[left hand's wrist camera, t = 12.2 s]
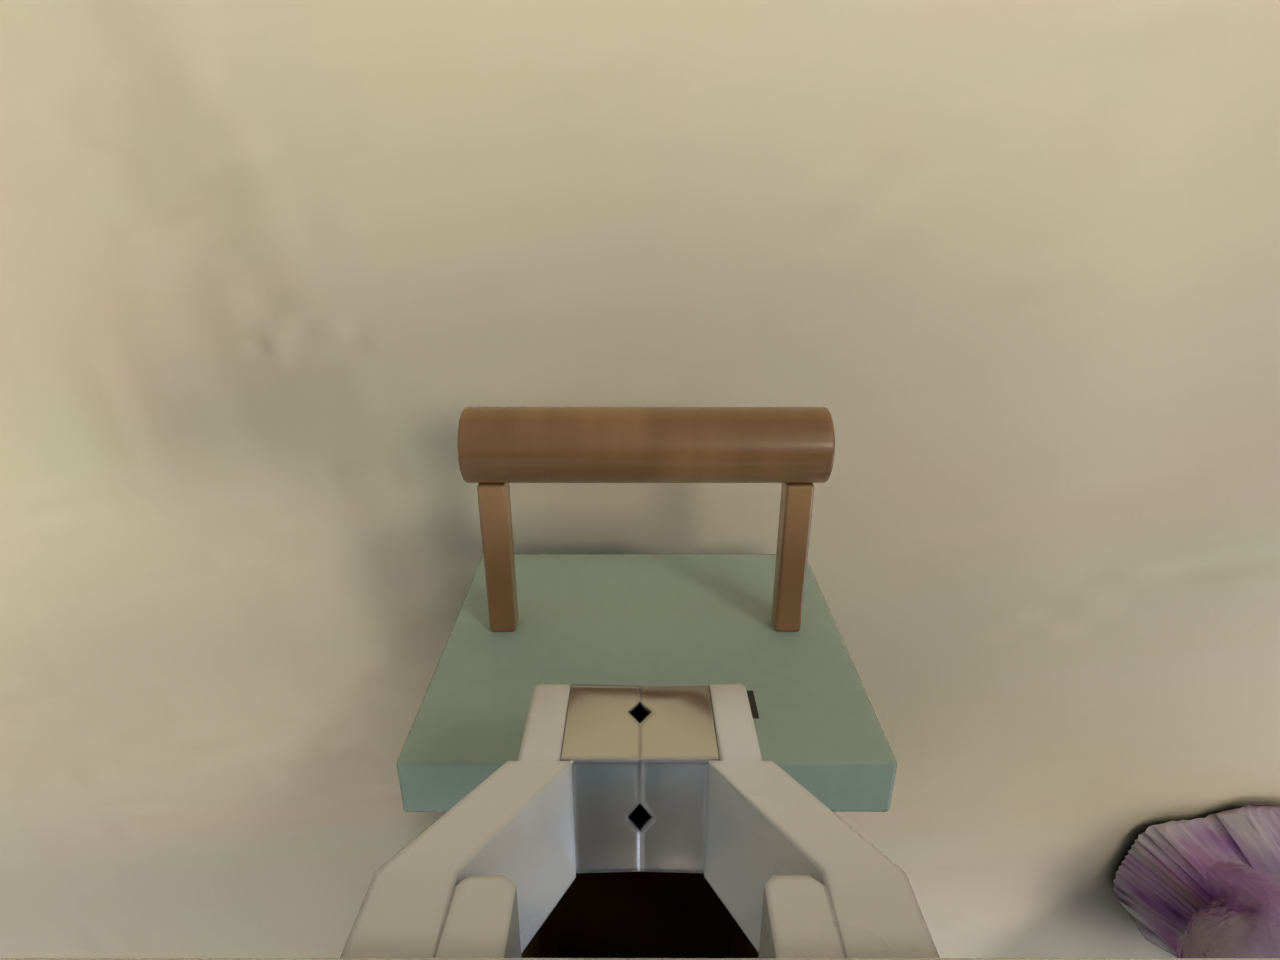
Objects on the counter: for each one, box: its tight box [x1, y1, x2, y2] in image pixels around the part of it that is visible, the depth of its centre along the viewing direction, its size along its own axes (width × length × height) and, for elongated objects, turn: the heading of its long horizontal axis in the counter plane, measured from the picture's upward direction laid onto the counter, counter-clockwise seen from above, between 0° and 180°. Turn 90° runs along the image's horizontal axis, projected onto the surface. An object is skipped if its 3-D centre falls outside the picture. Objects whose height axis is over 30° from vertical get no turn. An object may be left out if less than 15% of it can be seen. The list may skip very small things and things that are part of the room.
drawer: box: [397, 407, 897, 958], centre depth 19 cm, size 24×9×8 cm, turn 0°
